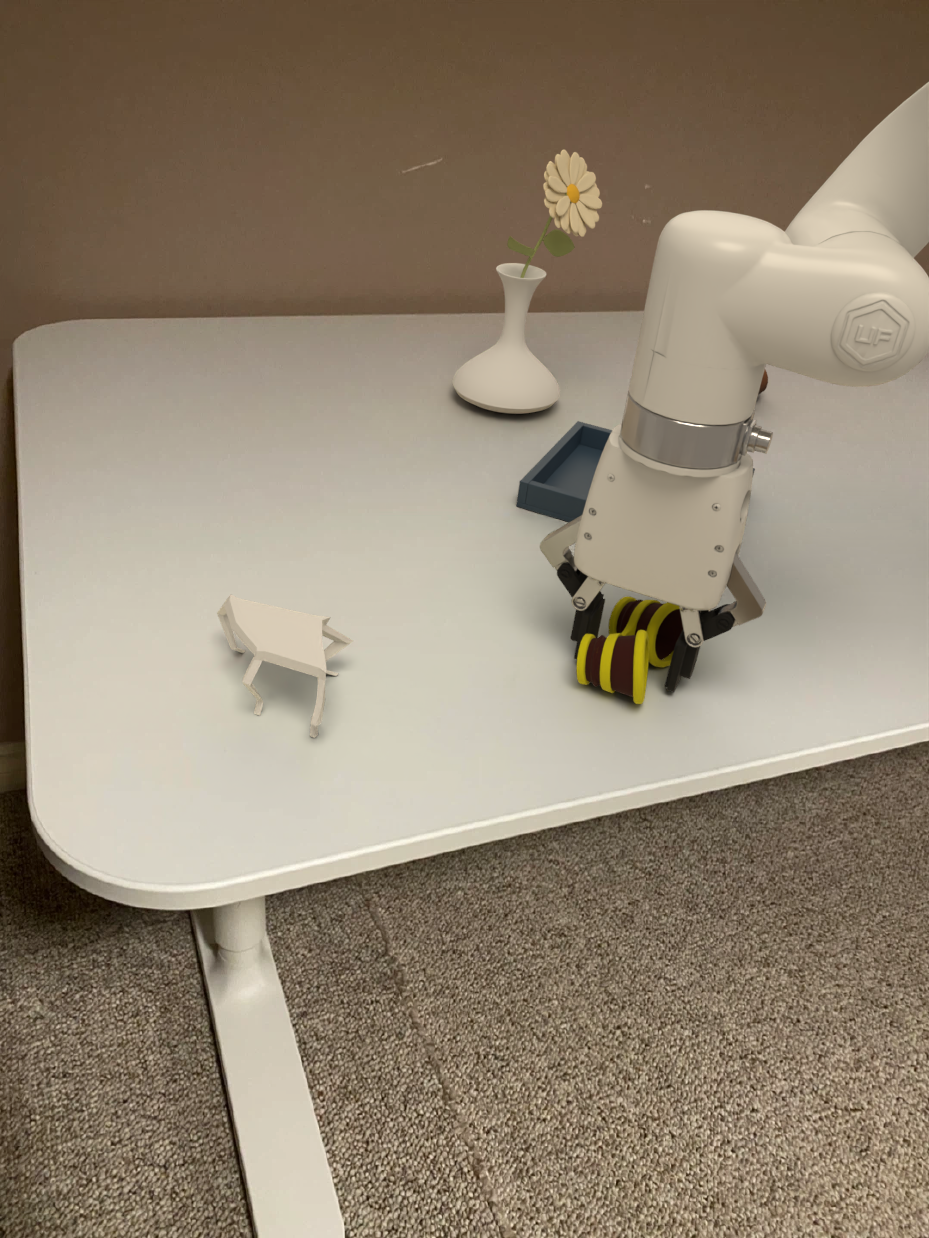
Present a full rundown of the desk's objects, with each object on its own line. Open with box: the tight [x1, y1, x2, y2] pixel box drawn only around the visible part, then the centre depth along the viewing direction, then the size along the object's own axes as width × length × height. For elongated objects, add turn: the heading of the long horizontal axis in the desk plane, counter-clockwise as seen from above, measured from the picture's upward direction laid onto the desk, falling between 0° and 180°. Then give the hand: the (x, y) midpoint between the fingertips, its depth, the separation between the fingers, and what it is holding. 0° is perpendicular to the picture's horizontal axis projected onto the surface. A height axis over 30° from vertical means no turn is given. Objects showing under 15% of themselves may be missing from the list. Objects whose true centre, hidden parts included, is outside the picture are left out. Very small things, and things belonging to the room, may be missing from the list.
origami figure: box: [216, 593, 354, 739], centre depth 70 cm, size 12×8×5 cm
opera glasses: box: [576, 595, 683, 705], centre depth 75 cm, size 10×5×5 cm, turn 148°
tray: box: [515, 420, 756, 523], centre depth 98 cm, size 18×16×2 cm
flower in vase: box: [451, 149, 603, 415], centre depth 108 cm, size 13×11×25 cm
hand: (629, 663), depth 76 cm, fingers closed on opera glasses, 5 cm apart
